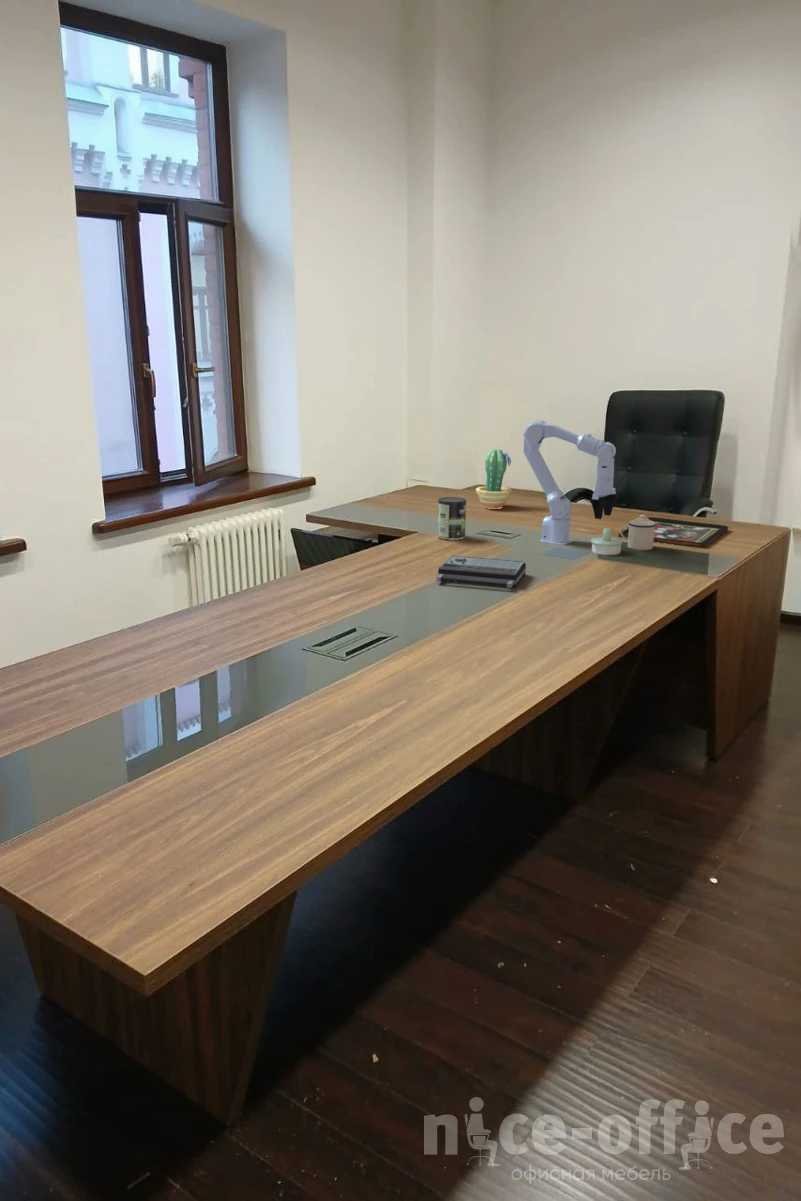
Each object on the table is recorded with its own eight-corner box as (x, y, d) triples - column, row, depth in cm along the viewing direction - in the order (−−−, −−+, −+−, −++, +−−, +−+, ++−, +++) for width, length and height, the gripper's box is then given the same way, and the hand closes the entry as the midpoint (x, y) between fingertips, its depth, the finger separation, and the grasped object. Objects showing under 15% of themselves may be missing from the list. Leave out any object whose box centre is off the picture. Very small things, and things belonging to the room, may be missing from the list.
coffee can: (468, 535, 331) (469, 497, 327) (461, 541, 322) (462, 502, 318) (441, 533, 334) (442, 496, 330) (433, 539, 325) (434, 500, 321)
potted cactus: (501, 512, 372) (503, 452, 365) (468, 508, 380) (470, 449, 373) (517, 506, 385) (520, 448, 377) (485, 503, 393) (487, 445, 385)
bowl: (588, 553, 306) (588, 543, 305) (599, 548, 313) (600, 538, 312) (612, 557, 301) (613, 547, 300) (623, 552, 308) (624, 542, 307)
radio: (526, 558, 278) (513, 575, 260) (525, 575, 280) (512, 592, 261) (450, 552, 285) (432, 567, 267) (450, 568, 287) (432, 584, 269)
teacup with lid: (656, 546, 315) (659, 514, 312) (649, 552, 308) (652, 518, 305) (623, 542, 321) (625, 510, 318) (615, 547, 314) (617, 514, 310)
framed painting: (637, 521, 359) (637, 514, 358) (729, 530, 345) (730, 523, 344) (615, 541, 326) (616, 534, 326) (716, 553, 312) (717, 545, 311)
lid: (586, 543, 304) (587, 530, 303) (596, 537, 313) (597, 524, 311) (616, 547, 299) (617, 533, 298) (625, 541, 308) (627, 527, 306)
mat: (540, 555, 303) (540, 554, 303) (557, 548, 312) (557, 547, 312) (573, 560, 296) (573, 559, 296) (588, 553, 305) (589, 552, 305)
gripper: (606, 482, 301) (604, 521, 305) (624, 476, 312) (622, 514, 316) (587, 480, 305) (585, 519, 309) (605, 474, 317) (603, 512, 320)
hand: (602, 516), depth 313 cm, fingers open, 7 cm apart
